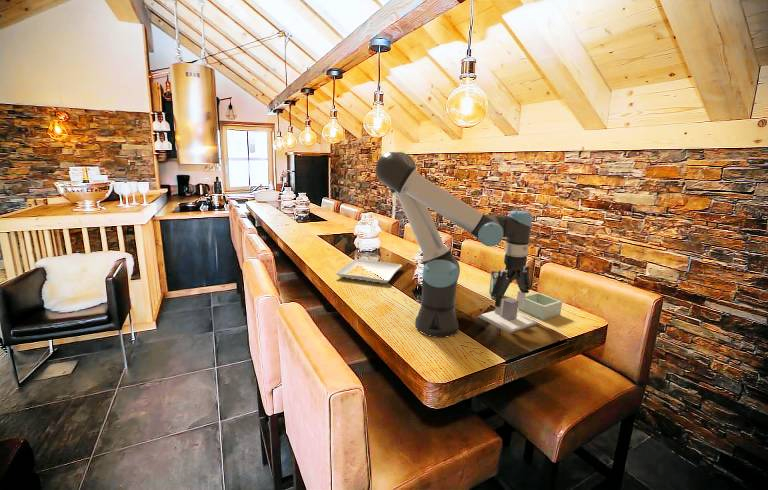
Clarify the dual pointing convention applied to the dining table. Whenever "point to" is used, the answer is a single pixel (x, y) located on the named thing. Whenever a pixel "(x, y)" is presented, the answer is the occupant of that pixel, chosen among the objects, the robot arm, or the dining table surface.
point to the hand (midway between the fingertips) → (509, 311)
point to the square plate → (375, 267)
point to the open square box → (541, 306)
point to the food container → (493, 282)
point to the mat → (508, 331)
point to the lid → (509, 317)
